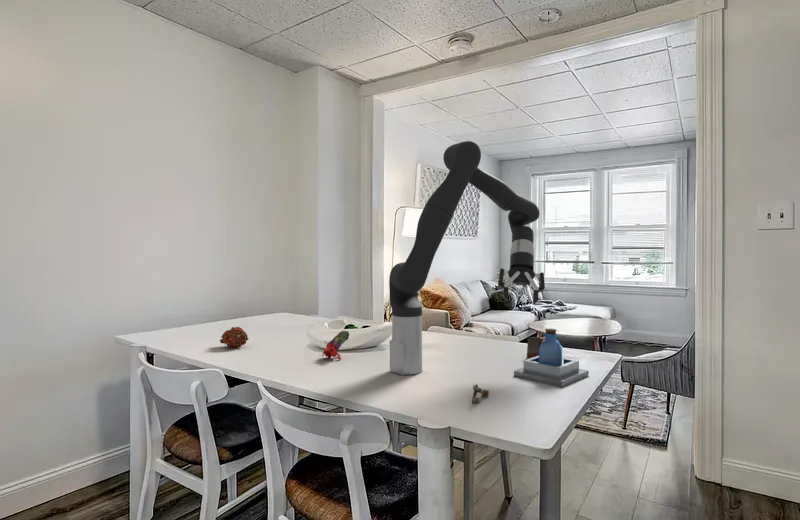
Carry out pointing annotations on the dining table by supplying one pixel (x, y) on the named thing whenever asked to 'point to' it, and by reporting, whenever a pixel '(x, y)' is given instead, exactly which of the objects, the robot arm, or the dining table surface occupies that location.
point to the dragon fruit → (234, 337)
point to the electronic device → (534, 346)
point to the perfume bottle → (550, 349)
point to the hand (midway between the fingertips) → (520, 301)
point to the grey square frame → (551, 372)
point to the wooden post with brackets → (479, 390)
